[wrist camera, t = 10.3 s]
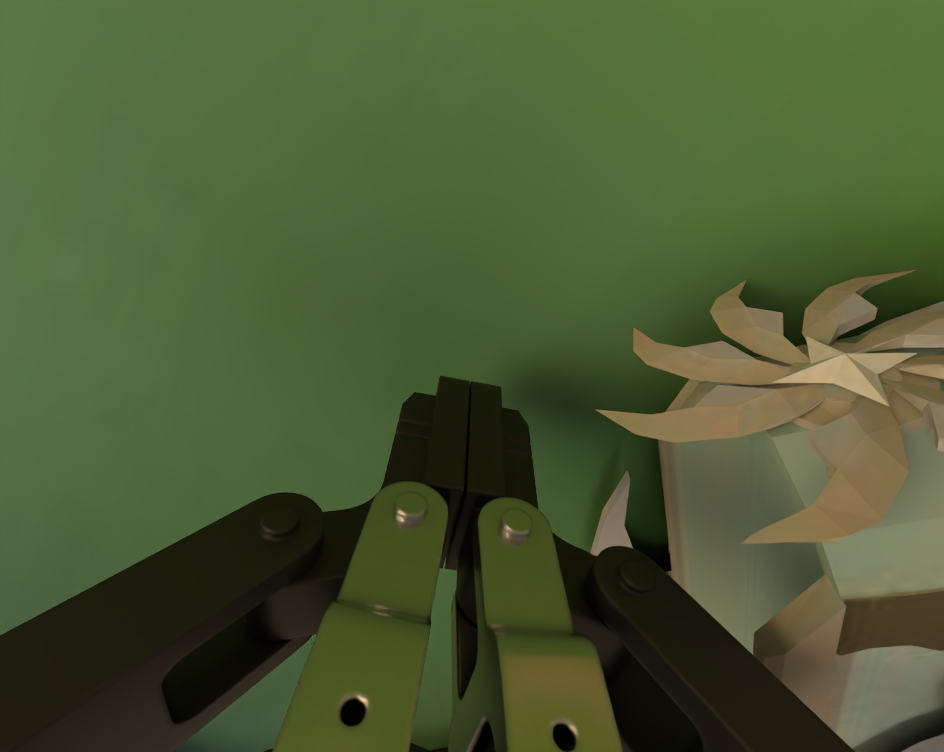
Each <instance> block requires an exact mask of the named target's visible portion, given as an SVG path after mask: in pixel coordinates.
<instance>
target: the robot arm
mask: <svg viewBox="0 0 944 752" xmlns="http://www.w3.org/2000/svg"><path fill="white" fill-rule="evenodd" d="M531 455H532V452H531V445H530V435H529V426H528V424H527V423H526V421H525V420H524V418H523V417H522V415H521V414H520V412H519V411H518V410H512V409H507V408H502V397H501V387H500V386H495V385H489V384H484V383H478V382H473V381H471V383H470V382H469V381H467V380H461V379H456V378H450V377H445V376H440V378H439V383H438V388H437V393H436V396H433V395H428V394H422V393H417V392H414V393H413V394H412V395H411V396H410V397H409V398H408V399H407V400H406V401H405V402H404V403H403V405H402V409H401V413H400V417H399V422H398V425H397V429H396V434H395V437H394V441H393V445H392V450H391V454H390V458H389V462H388V466H387V470H386V474H385V478H384V482H383V485H382V487H381V489H380V490H379V492H378V493H377V494H376V495H375V496H374V497H373V498H372V499H371V500H369V501H367V502H366V503H364V504H362V505H360V506H357V507H354V508H350V509H345V510H337V511H328V512H322V510H321V508H320V507H319V506H318V505H317V503H315V502H314V501H313V500H311V499H310V498H308V497H306V496H303V495H300V494H296V493H275V494H270V495H267V496H264V497H261V498H259V499H257V500H255V501H253V502H251V503H249V504H248V505H246V506H244V507H242V508H240V509H238V510H236V511H234V512H232V513H231V514H229V515H227V516H225V517H223V518H221V519H219V520H217V521H215V522H214V523H212V524H210V525H208V526H206V527H204V528H202V529H200V530H198V531H197V532H195V533H193V534H191V535H189V536H187V537H185V538H183V539H181V540H180V541H178V542H176V543H174V544H172V545H170V546H168V547H166V548H164V549H163V550H161V551H159V552H157V553H155V554H153V555H151V556H149V557H148V558H146V559H144V560H142V561H140V562H138V563H136V564H134V565H132V566H131V567H129V568H127V569H125V570H123V571H121V572H119V573H117V574H115V575H114V576H112V577H110V578H108V579H106V580H104V581H102V582H100V583H98V584H97V585H95V586H93V587H91V588H89V589H87V590H85V591H83V592H81V593H80V594H78V595H76V596H74V597H72V598H70V599H68V600H66V601H64V602H63V603H61V604H59V605H57V606H55V607H53V608H51V609H49V610H48V611H46V612H44V613H42V614H40V615H38V616H36V617H34V618H32V619H31V620H29V621H27V622H25V623H23V624H21V625H19V626H17V627H15V628H14V629H12V630H10V631H8V632H6V633H4V634H2V635H0V752H173V751H174V750H176V749H177V748H178V747H179V746H180V745H182V744H183V743H184V742H185V741H187V740H188V739H189V738H190V737H191V736H193V735H194V734H195V733H196V732H198V731H199V730H200V729H201V728H202V727H204V726H205V725H206V724H207V723H209V722H210V721H211V720H212V719H213V718H215V717H216V716H217V715H218V714H219V713H221V712H222V711H223V710H224V709H226V708H227V707H228V706H229V705H230V704H232V703H233V702H234V701H235V700H237V699H238V698H239V697H240V696H241V695H243V694H244V693H245V692H246V691H248V690H249V689H250V688H251V687H252V686H254V685H255V684H256V683H257V682H259V681H260V680H261V679H262V678H263V677H265V676H266V675H267V674H268V673H270V672H271V671H272V670H273V669H274V668H276V667H277V666H278V665H279V664H281V663H282V662H283V661H284V660H285V659H287V658H288V657H289V656H290V655H292V654H293V653H294V652H295V651H296V650H298V649H299V648H300V647H301V646H303V645H304V644H305V643H306V642H307V641H308V640H309V639H310V638H311V636H312V635H313V634H317V635H316V637H315V640H314V642H313V645H312V648H311V650H310V653H309V656H308V658H307V661H306V664H305V666H304V669H303V672H302V674H301V677H300V679H299V682H298V685H297V687H296V690H295V693H294V695H293V698H292V701H291V703H290V706H289V709H288V711H287V714H286V716H285V719H284V722H283V724H282V727H281V730H280V732H279V735H278V738H277V740H276V743H275V746H274V748H272V749H269V750H267V751H264V752H430V751H428V750H426V749H423V748H421V747H419V746H417V745H415V744H412V743H410V742H411V736H412V730H413V725H414V719H415V713H416V708H417V702H418V696H419V691H420V685H421V679H422V674H423V668H424V663H425V657H426V651H427V646H428V640H429V634H430V627H431V620H430V617H431V610H432V605H433V599H434V594H435V588H436V583H437V577H438V572H439V568H443V565H444V561H445V557H446V566H445V569H452V570H457V586H456V591H455V594H454V597H453V601H452V606H451V628H452V698H453V704H452V720H451V727H450V733H449V743H448V752H855V751H854V750H853V749H852V748H851V747H850V746H849V745H848V744H846V743H845V742H844V741H843V740H842V739H841V738H840V737H839V736H838V735H837V734H836V733H835V732H834V731H833V730H832V729H831V728H830V727H829V726H827V725H826V724H825V723H824V722H823V721H822V720H821V719H820V718H819V717H818V716H817V715H816V714H815V713H814V712H813V711H812V710H811V709H810V708H808V707H807V706H806V705H805V704H804V703H803V702H802V701H801V700H800V699H799V698H798V697H797V696H796V695H795V694H794V693H793V692H792V691H791V690H789V689H788V688H787V687H786V686H785V685H784V684H783V683H782V682H781V681H780V680H779V679H778V678H777V677H776V676H775V675H774V674H773V673H772V672H770V671H769V670H768V669H767V668H766V667H765V666H764V665H763V664H762V663H761V662H760V661H759V660H758V659H757V658H756V657H755V656H754V655H753V654H752V653H750V652H749V651H748V650H747V649H746V648H745V647H744V646H743V645H742V644H741V643H740V642H739V641H738V640H737V639H736V638H735V637H734V636H733V635H731V634H730V633H729V632H728V631H727V630H726V629H725V628H724V627H723V626H722V625H721V624H720V623H719V622H718V621H717V620H716V619H715V618H714V617H712V616H711V615H710V614H709V613H708V612H707V611H706V610H705V609H704V608H703V607H702V606H701V605H700V604H699V603H698V602H697V601H696V600H695V599H693V598H692V597H691V596H690V595H689V594H688V593H687V592H686V591H685V590H684V589H683V588H682V587H681V586H680V585H679V584H678V583H677V582H676V581H674V580H673V579H672V578H671V577H670V576H669V575H668V574H667V573H666V572H665V571H664V570H663V569H662V568H661V567H660V566H659V565H658V564H657V563H655V562H654V561H653V560H652V559H651V558H649V557H648V556H646V555H645V554H643V553H642V552H640V551H638V550H635V549H633V548H629V547H626V546H611V547H608V548H605V549H603V550H602V551H601V552H600V553H599V554H598V556H595V555H593V554H591V553H589V552H586V551H584V550H582V549H580V548H577V547H575V546H573V545H571V544H569V543H567V542H565V541H563V540H562V539H560V538H559V537H558V536H556V535H555V534H554V533H553V532H552V530H551V527H550V524H549V522H548V520H547V519H546V517H545V516H544V515H543V514H542V513H541V512H540V511H539V509H538V503H537V495H536V486H535V478H534V469H533V461H532V458H531Z"/></svg>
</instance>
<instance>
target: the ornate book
mask: <svg viewBox="0 0 944 752" xmlns="http://www.w3.org/2000/svg"><path fill="white" fill-rule="evenodd" d="M913 271H916V270H911V271H904V272H896V273H889V274H882V275H874V276H867V277H859V278H854V279H851V280H849V281H846V282H843V283H840V284H837V285H834V286H831V287H828V288H827V289H826V290H825V291H824V292H822V293H821V294H820V295H819V296H818V297H817V298H816V299H815V300H814V301H813V302H812V303H811V304H810V305H808V306H807V307H806V308H805V314H804V321H803V328H802V334H803V336H804V338H805V339H806V341H807V345H800V346H797V347H795V346H794V345H793V344H792V343H791V342H790V341H789V340H787V339H786V338H785V337H784V336H783V313H782V312H776V311H769V310H763V309H756V308H750V307H746V306H745V305H744V304H743V302H742V301H741V300H740V299H739V297H740V295H741V292H742V290H743V288H744V285H745V283H746V280H745V281H744V282H742V283H740V284H739V285H737V286H736V287H734V288H732V289H731V290H729V291H727V292H726V293H724V294H722V295H721V296H719V297H718V298H716V300H715V302H714V304H713V306H712V308H711V310H710V313H711V315H712V316H713V318H714V320H715V322H716V323H717V325H718V327H719V328H720V330H721V332H722V333H723V334H725V335H726V336H728V337H730V338H731V339H733V340H735V341H736V342H738V343H739V344H741V345H743V346H744V347H746V348H748V349H749V350H751V351H753V352H754V353H756V354H759V355H763V356H758V357H751V356H749V355H748V354H746V353H744V352H742V351H740V350H739V349H737V348H735V347H733V346H731V345H730V344H728V343H726V342H724V341H719V342H713V343H707V344H701V345H696V346H690V347H684V348H683V347H678V346H672V345H667V344H662V343H656V342H655V341H653V340H652V339H650V338H649V337H647V336H646V335H644V334H643V333H642V332H640V331H639V330H637V329H636V328H634V327H633V351H634V352H635V353H636V354H637V355H638V356H639V357H640V358H641V359H642V360H643V361H644V362H645V363H646V364H647V365H649V366H652V367H655V368H658V369H661V370H664V371H667V372H670V373H673V374H676V375H679V376H682V377H685V378H688V379H689V380H688V382H687V383H686V385H685V386H684V387H683V389H682V390H681V391H680V393H679V394H678V395H677V397H676V398H675V399H674V401H673V402H672V403H671V405H670V406H669V407H668V409H667V410H666V411H665V412H664V413H658V414H652V415H649V414H639V413H628V412H618V411H607V410H597V409H595V410H597V411H598V412H600V413H601V414H603V415H605V416H606V417H608V418H610V419H611V420H613V421H614V422H616V423H618V424H619V425H621V426H623V427H624V428H626V429H627V430H629V431H631V432H632V433H634V434H636V435H640V436H645V437H650V438H655V439H658V443H659V453H660V463H661V472H662V482H663V492H664V501H665V511H666V521H667V530H668V540H669V547H668V550H669V553H670V559H671V569H672V571H668V572H666V573H667V574H668V575H669V576H670V577H671V578H672V579H673V580H674V581H676V582H677V583H678V584H679V585H680V586H681V587H682V588H683V589H684V590H685V591H686V592H687V593H688V594H689V595H690V596H691V597H692V598H693V599H695V600H696V601H697V602H698V603H699V604H700V605H701V606H702V607H703V608H704V609H705V610H706V611H707V612H708V613H709V614H710V615H711V616H712V617H714V618H715V619H716V620H717V621H718V622H719V623H720V624H721V625H722V626H723V627H724V628H725V629H726V630H727V631H728V632H729V633H730V634H731V635H733V636H734V637H735V638H736V639H737V640H738V641H739V642H740V643H741V644H742V645H743V646H744V647H745V648H746V649H747V650H748V651H749V652H750V653H752V654H753V655H754V656H755V657H756V658H757V659H758V660H759V661H760V662H761V663H762V664H763V665H764V666H765V667H766V668H767V669H768V670H769V671H770V672H772V673H773V674H774V675H775V676H776V677H777V678H778V679H779V680H780V681H781V682H782V683H783V684H784V685H785V686H786V687H787V688H788V689H789V690H791V691H792V692H793V693H794V694H795V695H796V696H797V697H798V698H799V699H800V700H801V701H802V702H803V703H804V704H805V705H806V706H807V707H808V708H810V709H811V710H812V711H813V712H814V713H815V714H816V715H817V716H818V717H819V718H820V719H821V720H822V721H823V722H824V723H825V724H826V725H827V726H829V727H830V728H831V729H832V730H833V731H834V732H835V733H836V734H837V735H838V736H839V737H840V738H841V739H842V740H843V741H844V742H845V743H846V744H848V745H849V746H850V747H851V748H852V749H853V750H854V751H855V752H944V301H942V302H939V303H936V304H934V305H931V306H928V307H925V308H922V309H919V310H917V311H914V312H911V313H908V314H905V315H902V316H900V317H897V318H894V319H891V320H888V321H885V322H883V323H881V324H879V325H877V326H875V327H874V328H872V329H870V330H868V331H866V332H864V333H862V334H860V335H858V336H853V337H848V338H843V339H839V340H836V338H837V337H838V336H839V335H842V334H844V333H846V332H848V331H850V330H853V329H855V328H857V327H859V326H861V325H864V324H866V323H868V322H870V321H873V320H875V317H876V313H877V310H878V308H876V307H875V306H874V305H872V304H871V303H869V302H868V301H866V300H865V299H864V298H862V297H861V296H860V295H861V294H863V293H864V292H865V291H866V290H868V289H869V288H870V287H872V286H875V285H878V284H880V283H883V282H886V281H889V280H891V279H894V278H897V277H899V276H902V275H905V274H907V273H910V272H913ZM629 486H630V477H629V474H628V471H626V473H625V474H624V476H623V477H622V479H621V481H620V482H619V484H618V485H617V487H616V489H615V490H614V492H613V493H612V495H611V497H610V498H609V500H608V502H607V503H606V505H605V506H604V508H603V511H602V514H601V518H600V521H599V524H598V528H597V531H596V535H595V538H594V542H593V545H592V548H591V552H590V553H591V554H593V555H595V556H598V554H599V553H600V552H601V551H602V550H603V549H605V548H608V547H611V546H626V547H629V548H633V547H632V544H631V542H630V539H629V537H628V534H627V531H626V529H625V526H624V524H625V517H626V509H627V501H628V494H629Z"/></svg>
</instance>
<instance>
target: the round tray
mask: <svg viewBox="0 0 944 752" xmlns="http://www.w3.org/2000/svg"><path fill="white" fill-rule="evenodd" d="M434 752H448V748H446V749H441V750H437V751H434Z"/></svg>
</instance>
